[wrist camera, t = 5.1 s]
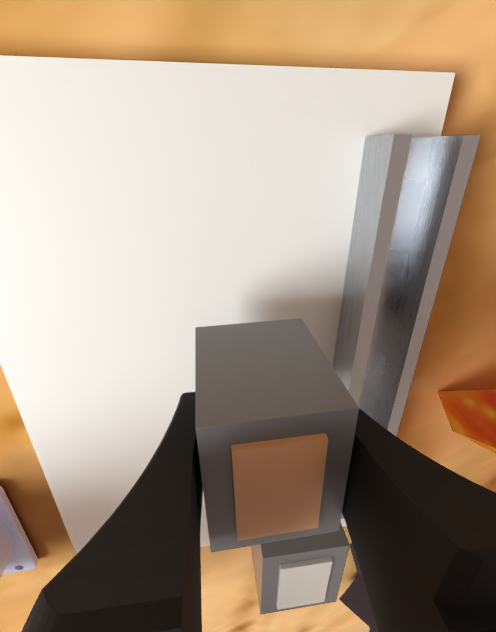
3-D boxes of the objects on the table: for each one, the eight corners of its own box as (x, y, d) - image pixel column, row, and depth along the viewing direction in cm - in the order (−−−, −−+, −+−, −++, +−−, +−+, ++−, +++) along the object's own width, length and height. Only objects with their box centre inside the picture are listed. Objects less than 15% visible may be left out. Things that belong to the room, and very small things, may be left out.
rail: (311, 513, 22) (321, 545, 20) (365, 136, 12) (393, 133, 10) (354, 507, 22) (367, 538, 20) (440, 137, 12) (480, 135, 11)
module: (206, 428, 14) (211, 559, 10) (195, 327, 12) (195, 434, 7) (295, 417, 15) (341, 537, 10) (301, 318, 13) (362, 413, 8)
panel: (85, 544, 22) (80, 564, 21) (-92, 61, 10) (-125, 50, 9) (343, 509, 24) (350, 525, 23) (433, 79, 13) (455, 72, 12)
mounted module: (247, 517, 21) (261, 619, 17) (247, 463, 19) (263, 563, 14) (307, 509, 22) (337, 606, 17) (314, 455, 19) (351, 550, 15)
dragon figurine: (761, 478, 13) (596, 860, 19) (496, 365, 25) (443, 621, 30) (533, 501, 12) (427, 911, 17) (364, 370, 23) (334, 638, 29)
